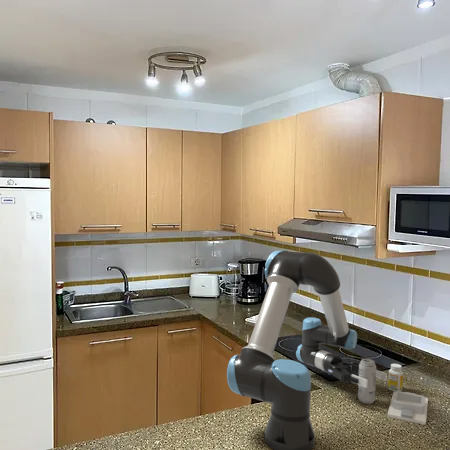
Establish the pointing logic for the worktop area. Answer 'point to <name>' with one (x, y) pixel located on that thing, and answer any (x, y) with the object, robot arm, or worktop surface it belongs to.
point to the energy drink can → (369, 373)
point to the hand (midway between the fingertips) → (376, 380)
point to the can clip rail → (408, 407)
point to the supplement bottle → (395, 378)
